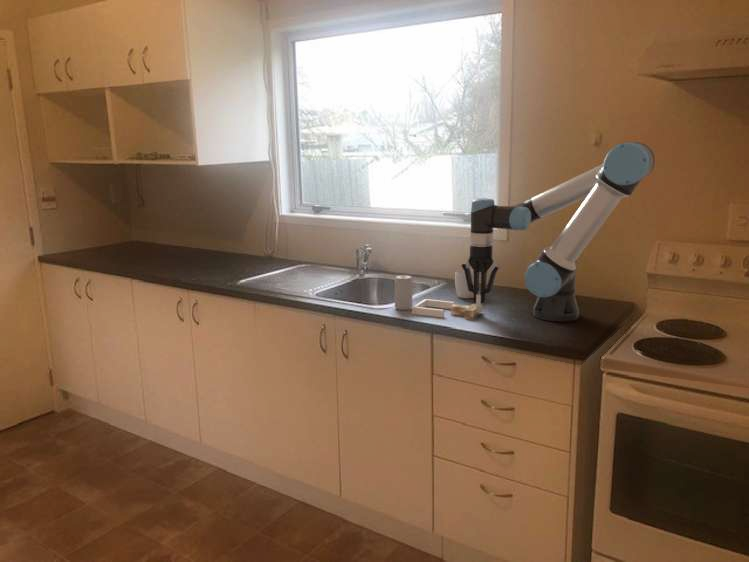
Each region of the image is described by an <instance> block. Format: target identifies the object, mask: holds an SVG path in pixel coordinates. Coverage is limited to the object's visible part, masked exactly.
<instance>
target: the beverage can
mask: <svg viewBox="0 0 749 562" xmlns="http://www.w3.org/2000/svg"><path fill="white" fill-rule="evenodd" d="M413 282H414V281H413V279H412V276H411V275H403V274H402V275H397V276H395V279H394V308H395V309H397V310H398V311H401V310H403V312H404V311H406V312H407V311H409V310H411V309H412V307H413Z"/></svg>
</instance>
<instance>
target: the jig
mask: <svg viewBox="0 0 749 562" xmlns="http://www.w3.org/2000/svg"><path fill="white" fill-rule="evenodd" d="M453 304H456V302H455V301H447V300H438V299H429V298H428V299H426V298H424V299H423V300H421V301H419V302H418V303H416V304H415V305H412V308H411V309H412V311H411V313H412V315H418V316H426V317H435V318H436V317H437V318H444V317H445V310H446V309H447V310H451V306H452V305H453Z"/></svg>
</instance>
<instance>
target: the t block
mask: <svg viewBox="0 0 749 562" xmlns="http://www.w3.org/2000/svg"><path fill="white" fill-rule="evenodd" d="M480 314H481V313H476V303H472V304H470V305H464V304H457V303H455V304H453V305H452V306H451V309H450V315H453V316H462V317H464V320H465V319H467V320H474V319H476V318H477V317H478V316H479V315H480Z"/></svg>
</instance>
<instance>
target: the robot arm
mask: <svg viewBox="0 0 749 562" xmlns="http://www.w3.org/2000/svg"><path fill="white" fill-rule="evenodd" d="M655 163H656V157H655V153H654V152H653V150H652V148H650V146H649V145H647V144H645V143H643V142H636V141H635V142H631V141H629V142H628V141H626V142H625V141H624V142H621V143H619V144H617V145H615V146H614V147H613V148H612V149H610V150H609V152H607V154H606V156H605V158H604V160H603V163H602V164H600V165H598V166H596V167H594V168H592V169H589V170H587V171H585V172H584V173H583V172H582V173H581V174H579V175H577V176H574V177H573V178H570V179H568V180H567V181H565V182H562V183H560V184H558V185H556V186H553V187H552V188H550V189H548V190H545V191H543V192H542V193H539V194H537V195H535V196H533V197H531V198H529V199H526V200H525V201H521V202H520V203H517V204H514V205H496V204H495V200H494V199H493V198H474V199H473V200H472V201H471V209H470V235H469V237H470V238H469V244H470V246H469V258H468V260H467V262H464V263H462V264H461V268H462V270H463V269H464V271H465V276H466V281H467V286H468V290H469V291H470V292H473V294H474V298H473V304H476V313H480V314H481V313H482V312H483V304H485V303H486V296H487V295H486V294H489V293H491V292H492V288H493V285H494V282H495V279H496V275H497V272H498V271H499V269H500V267H501V266H500V265H497V264H495V263H494V259H493V249H494V248H493V241H494V229H500V230H501V229H502V230H513V231H526V230H528V229H529V227H530V225H531V224H532V223H534V222H536V221H537V220H540V219H541V218H544V217H546V216H548V215H550V214H552V213H555V212H557V211H559V210H561V209H564V208H566V207H568V206H570V205H573V204H576V203H578V202H579V201H581V200H583V202H581V204H580V206H579V207H578V209H577V210H576V212H575V213H574V214H573V215H572V217H571V218H570V220H569V221H568V223H567V224H566V226H564V228H563V229H562V231H561V233H560V234H559V235H558V237H557V238H556V239H555V241H554V242H553V244H552V245H551V246H546V247H544V248H543V250H541V252H540V254H539V255H538V256H537V258H536V259H535V261H534V262H533V263H530V265H528V267H527V269H526V271H525V273H524V283H525V286H526V288H527V289H528V290H529V292H530V293H531V294H532V295H534V296H536V297H537V298H536V301H535V303H534V306H533V312H532V313H533V314H532V315H533V317H535V318H537V319H540V320H543V321H549V322H571V321H577V319H579V316H580V315H579V314H580V310H579V306H578V302H577V299H576V296H575V293H576V292H575V291H576V279H577V263H578V258H579V257H580V255H581V254H582V253H583V251H584V250H585V248H586V247H587V246H588V245H589V244H590V242H591V241H592V239H593V238H594V236H595V235H596V234H597V232H598V231H599V230H600V229H601V227H602V226H603V224H605V222H606V220H607V219H608V217H609V216H610V215H611V213H612V212H613V211H614V209H615V208H616V206H617V205H618V204H619V202H621V200H622V199H624V198H627V197H630V196H631V195H632V194H633V193H634V191H635V190H636V189H637V187H638V186H639V185H640V183H641V182H642V181H643V180H645V178H647V177H648V176H649V175H650V174H651V173H652V171H653V169H654V167H655ZM470 267H471V268H470ZM489 269H491V273H490V275H489V279H488V283H487V275H488V270H489ZM470 270H474V287H473V282H472V277H471V272H470ZM479 286H480V287H479Z"/></svg>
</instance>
